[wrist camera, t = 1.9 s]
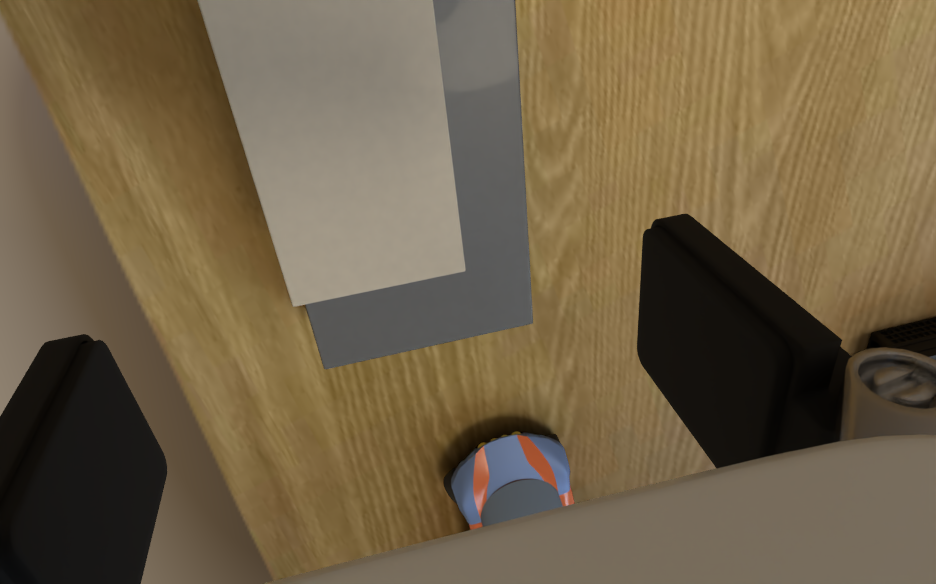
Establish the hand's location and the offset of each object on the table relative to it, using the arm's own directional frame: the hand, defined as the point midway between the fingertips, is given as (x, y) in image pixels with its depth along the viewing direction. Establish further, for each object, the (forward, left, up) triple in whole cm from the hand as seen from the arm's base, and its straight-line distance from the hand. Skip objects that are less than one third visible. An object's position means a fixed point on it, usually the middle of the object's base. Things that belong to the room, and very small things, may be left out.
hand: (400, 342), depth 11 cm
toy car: (+14, -25, -18) cm, 34 cm away
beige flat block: (0, 0, -14) cm, 14 cm away
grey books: (+2, -3, -18) cm, 18 cm away
